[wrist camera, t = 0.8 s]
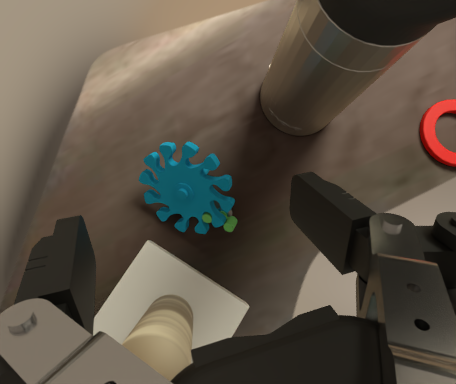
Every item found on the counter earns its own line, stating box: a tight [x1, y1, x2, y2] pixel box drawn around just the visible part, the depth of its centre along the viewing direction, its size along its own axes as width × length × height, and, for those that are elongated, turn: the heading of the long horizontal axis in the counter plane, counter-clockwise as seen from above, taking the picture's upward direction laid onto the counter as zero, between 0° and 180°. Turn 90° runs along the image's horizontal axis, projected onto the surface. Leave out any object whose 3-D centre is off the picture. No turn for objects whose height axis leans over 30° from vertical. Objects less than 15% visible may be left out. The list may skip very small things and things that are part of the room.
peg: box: [122, 295, 193, 381], centre depth 23 cm, size 4×4×14 cm
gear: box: [139, 141, 237, 234], centre depth 33 cm, size 11×6×10 cm
